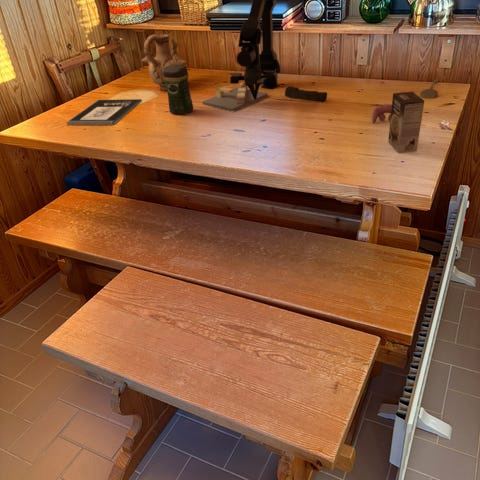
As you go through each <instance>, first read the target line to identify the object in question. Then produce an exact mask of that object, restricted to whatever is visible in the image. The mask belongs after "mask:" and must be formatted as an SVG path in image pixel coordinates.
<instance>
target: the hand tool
mask: <svg viewBox="0 0 480 480" xmlns="http://www.w3.org/2000/svg"><path fill="white" fill-rule="evenodd" d="M284 96H285V97H287V98H291V99H293V100H294V99H295V100H296V99H303V100H304V99H305V100H311V101H316V102H317V101H318V102H319V101H320V102H322V103H325V102H327V98H328V93H327V92H326V91H323V92H322V91H318V90H317V91H316V90H313V91H312V90H305V89H300V88H299V87H298V86H287V87H286V88H285V90H284Z"/></svg>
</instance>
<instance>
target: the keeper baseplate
mask: <svg viewBox="0 0 480 480" xmlns="http://www.w3.org/2000/svg"><path fill="white" fill-rule="evenodd" d="M239 83H240V82H239ZM244 84H245V82H241V83H240V84H239V85H240V86H245V85H244ZM215 93H216V95H215V96H213V97H210V98H208V99H205V100H203V101H202V105H203V106H204V105H205V106H208V107H211V108H214V109H215V108H217V109H219V108H220V109H219V110H223V109H224V111H227V110H229V111H228V112H231V111H234V112H235V110H236V111H238V110H240V109H242V107H243V108H244V107H246V106H249V105H252V104H254V103H256V102H258V101H260V100H263V99H265V98H267V97H268V96H269V93H268V92H262V91H258V94H257V98H256V99H254V98H253V95H252V93H251V91H250V89H249V88H247V91H246V97H245V103H237V93H238V86H237V87H236V88H230V87H225V86H217V87H215ZM251 103H252V104H251ZM237 109H238V110H237Z"/></svg>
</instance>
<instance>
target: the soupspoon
mask: <svg viewBox="0 0 480 480" xmlns="http://www.w3.org/2000/svg"><path fill="white" fill-rule="evenodd" d="M437 83H439V80H438V79H436V78H435V79H434V80H433V82H432V84H431V86H430V88H426V89H423V90H421V92H420V93H419V97H420V98H421V99H426V100H429V99H430V100H433V99H436V98H437V97H438V94H439V92H438V91H437V90H436V89H434V85H435V84H437Z"/></svg>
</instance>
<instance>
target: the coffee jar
mask: <svg viewBox="0 0 480 480" xmlns="http://www.w3.org/2000/svg"><path fill="white" fill-rule="evenodd" d="M163 76H164V80H165V82H166V86H167V90H166V91H167V99H168V110H169V113H171V114H172V115H186V114H191V113H192V112H193V111H194V104H193V100H192V96H191V91H190V86H189V72H188V68H187V67H186V65H184V66H167V67H165V68H164V69H163Z"/></svg>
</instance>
